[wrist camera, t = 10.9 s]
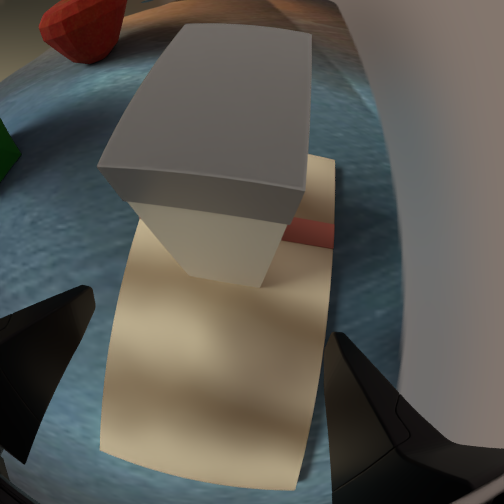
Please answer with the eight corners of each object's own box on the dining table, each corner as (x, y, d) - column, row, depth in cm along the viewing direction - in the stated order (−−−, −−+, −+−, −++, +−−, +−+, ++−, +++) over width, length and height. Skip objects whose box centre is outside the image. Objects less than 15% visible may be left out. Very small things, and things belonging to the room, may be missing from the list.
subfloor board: (291, 483, 12) (295, 491, 11) (106, 445, 12) (99, 450, 11) (330, 167, 19) (335, 159, 18) (172, 144, 19) (170, 135, 18)
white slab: (260, 288, 15) (305, 191, 5) (188, 276, 15) (96, 166, 5) (274, 191, 17) (311, 34, 6) (210, 182, 17) (185, 24, 6)
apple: (138, 29, 27) (124, -36, 15) (137, 59, 24) (116, -25, 12) (69, 55, 25) (46, -3, 14) (54, 93, 22) (18, 22, 11)
